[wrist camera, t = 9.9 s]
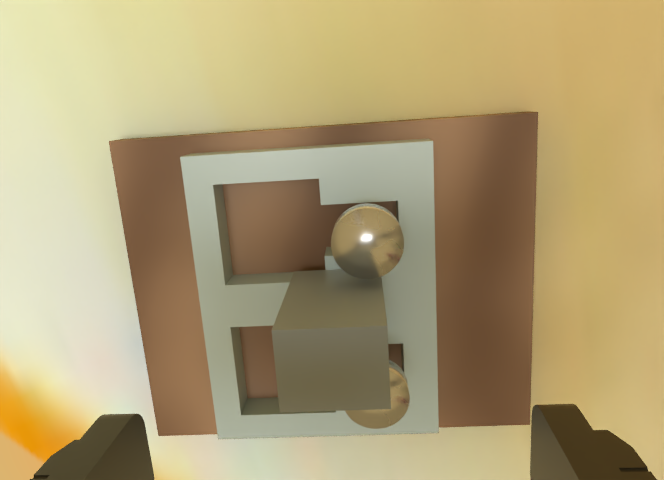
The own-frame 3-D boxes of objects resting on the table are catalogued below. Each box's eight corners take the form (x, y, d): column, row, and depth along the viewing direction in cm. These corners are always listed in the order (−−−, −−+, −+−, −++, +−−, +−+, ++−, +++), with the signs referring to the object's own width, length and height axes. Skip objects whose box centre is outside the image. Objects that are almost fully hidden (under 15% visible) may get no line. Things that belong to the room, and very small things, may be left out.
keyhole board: (529, 111, 19) (537, 112, 18) (522, 410, 22) (529, 424, 21) (120, 139, 20) (109, 141, 19) (167, 421, 23) (158, 436, 22)
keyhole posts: (395, 188, 19) (402, 206, 16) (402, 376, 21) (410, 427, 18) (333, 191, 19) (328, 210, 16) (346, 378, 21) (344, 430, 18)
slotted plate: (428, 138, 19) (461, 155, 13) (434, 414, 21) (463, 538, 15) (190, 153, 19) (113, 177, 13) (225, 420, 22) (175, 542, 16)
